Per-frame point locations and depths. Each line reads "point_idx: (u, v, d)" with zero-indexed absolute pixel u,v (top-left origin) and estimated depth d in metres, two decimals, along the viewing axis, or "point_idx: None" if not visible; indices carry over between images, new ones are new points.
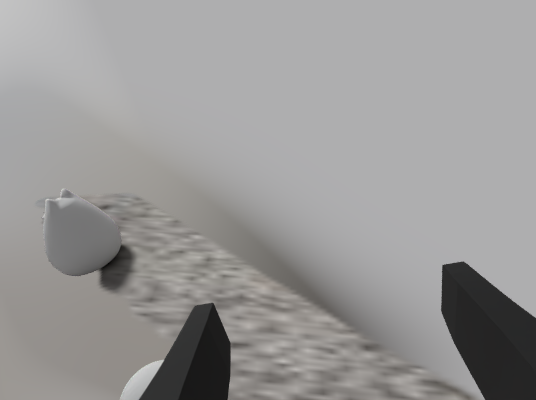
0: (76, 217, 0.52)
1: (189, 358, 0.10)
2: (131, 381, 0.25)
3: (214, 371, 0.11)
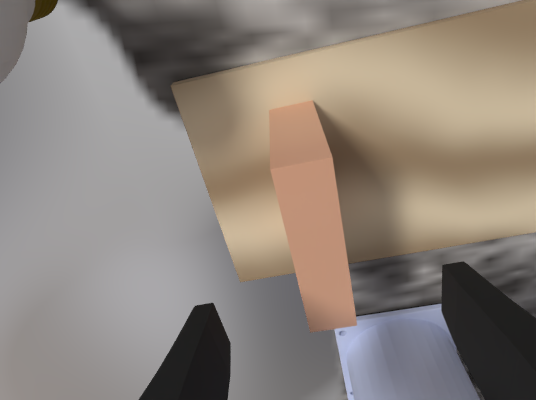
0: None
1: (189, 358, 0.10)
2: None
3: (214, 371, 0.11)
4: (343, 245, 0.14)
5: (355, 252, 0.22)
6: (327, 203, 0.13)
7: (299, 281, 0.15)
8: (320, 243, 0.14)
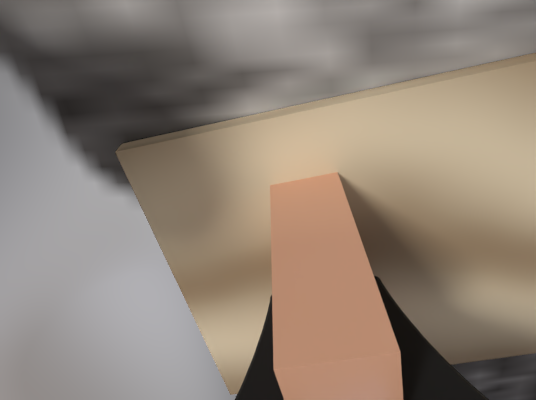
0: None
1: None
2: None
3: None
4: None
5: None
6: None
7: None
8: None
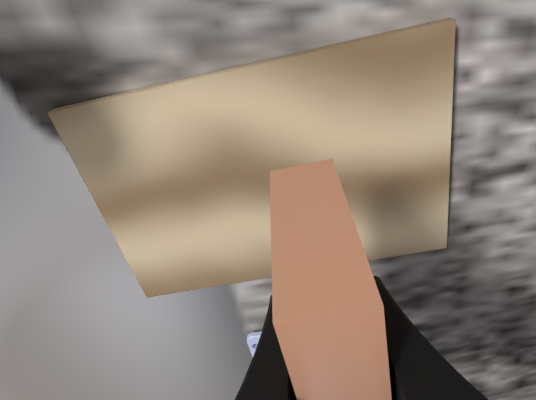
0: None
1: None
2: None
3: None
4: None
5: (254, 269, 0.22)
6: (369, 365, 0.08)
7: None
8: None
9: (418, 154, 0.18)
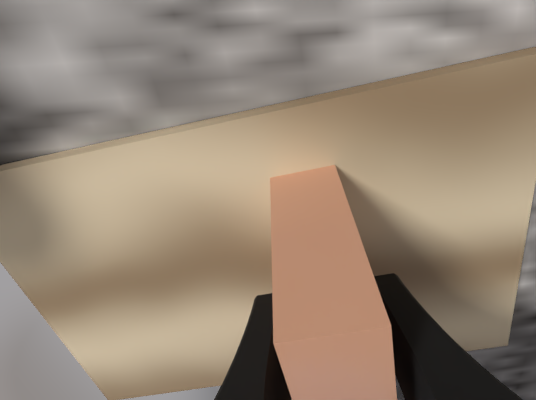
0: None
1: (265, 347, 0.10)
2: None
3: None
4: None
5: None
6: (375, 387, 0.07)
7: None
8: None
9: (480, 235, 0.13)
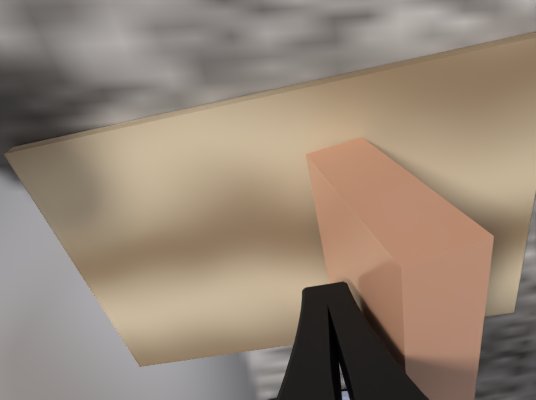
0: None
1: (324, 338, 0.09)
2: None
3: (334, 354, 0.11)
4: (477, 350, 0.09)
5: (272, 336, 0.18)
6: (471, 301, 0.08)
7: None
8: (448, 354, 0.09)
9: (491, 204, 0.14)
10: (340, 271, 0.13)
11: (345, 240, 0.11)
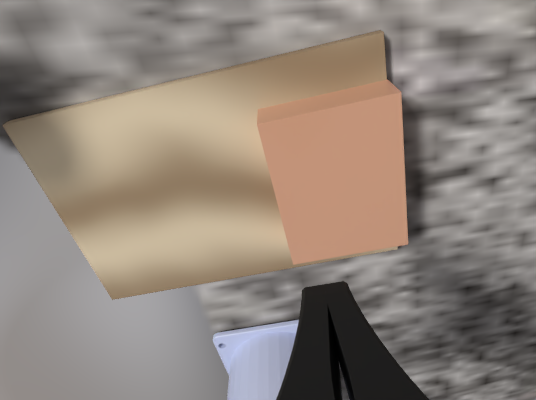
0: None
1: (324, 338, 0.09)
2: None
3: (334, 354, 0.11)
4: None
5: (213, 272, 0.23)
6: None
7: (405, 194, 0.18)
8: None
9: None
10: (314, 188, 0.18)
11: (329, 144, 0.16)
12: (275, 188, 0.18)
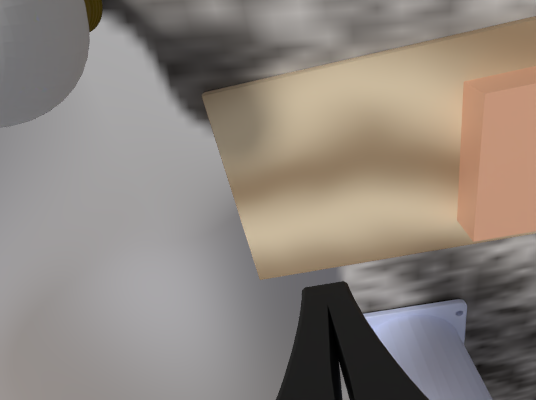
0: None
1: (324, 338, 0.09)
2: None
3: (334, 354, 0.11)
4: None
5: (370, 251, 0.23)
6: None
7: None
8: None
9: None
10: (521, 161, 0.17)
11: None
12: (481, 161, 0.17)
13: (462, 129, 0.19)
